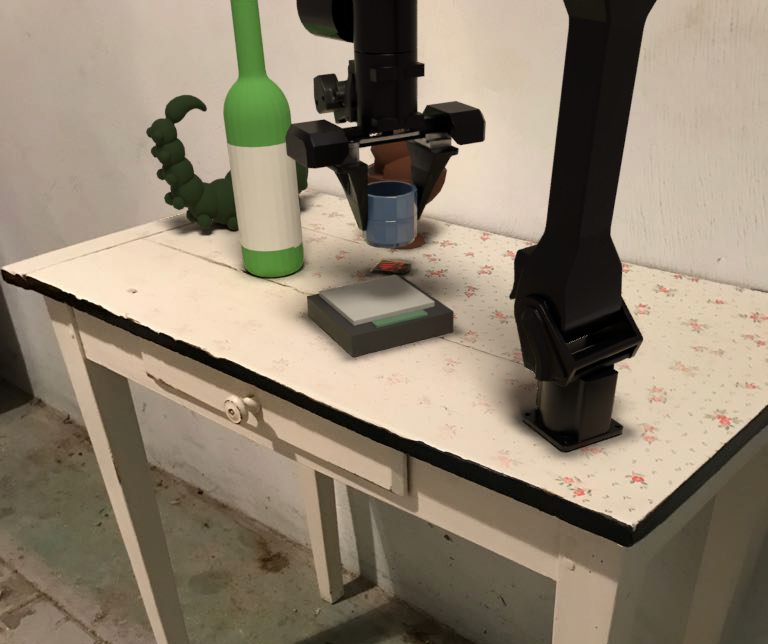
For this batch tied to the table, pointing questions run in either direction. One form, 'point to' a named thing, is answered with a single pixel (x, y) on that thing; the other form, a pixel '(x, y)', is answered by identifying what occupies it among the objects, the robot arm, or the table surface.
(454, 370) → the table surface
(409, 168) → the ice cream bowl
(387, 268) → the red black picture tile
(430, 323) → the kitchen scale
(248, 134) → the wine bottle
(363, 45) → the robot arm
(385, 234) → the small cup
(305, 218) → the table surface
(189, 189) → the toy figurine
